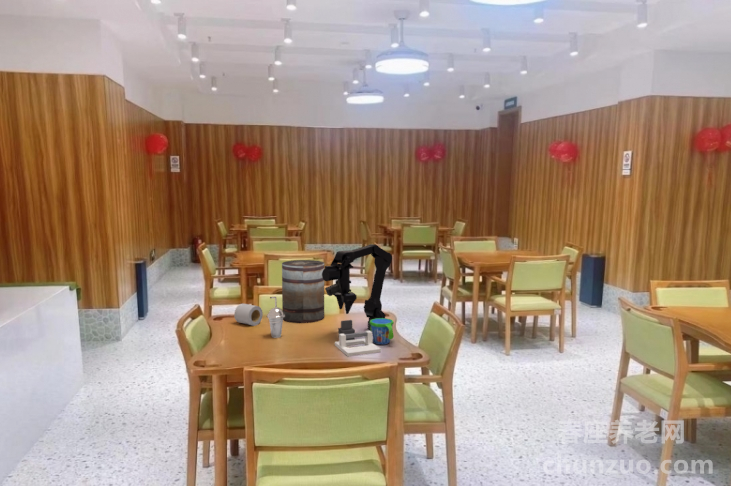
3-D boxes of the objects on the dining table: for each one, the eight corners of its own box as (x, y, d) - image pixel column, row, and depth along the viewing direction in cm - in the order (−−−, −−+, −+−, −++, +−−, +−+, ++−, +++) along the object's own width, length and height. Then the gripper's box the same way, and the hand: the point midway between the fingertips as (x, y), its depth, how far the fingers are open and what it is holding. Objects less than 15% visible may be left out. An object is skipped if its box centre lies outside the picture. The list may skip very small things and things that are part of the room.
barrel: (323, 312, 280) (323, 259, 277) (325, 322, 258) (325, 266, 255) (283, 313, 278) (282, 260, 274) (281, 323, 255) (280, 266, 252)
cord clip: (350, 336, 235) (350, 318, 234) (354, 339, 230) (355, 321, 229) (338, 337, 233) (338, 319, 232) (342, 341, 227) (342, 322, 226)
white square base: (365, 341, 227) (365, 327, 226) (380, 352, 212) (380, 337, 211) (334, 345, 221) (334, 330, 220) (347, 356, 206) (348, 341, 205)
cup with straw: (289, 336, 234) (288, 294, 231) (273, 340, 227) (272, 297, 225) (278, 332, 239) (277, 292, 237) (262, 336, 233) (261, 294, 231)
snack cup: (363, 339, 230) (363, 317, 229) (383, 336, 235) (383, 315, 234) (379, 349, 216) (379, 326, 215) (400, 345, 221) (400, 323, 220)
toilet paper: (262, 323, 256) (262, 304, 255) (248, 327, 248) (248, 308, 247) (248, 320, 262) (248, 301, 261) (234, 324, 253) (234, 305, 252)
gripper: (321, 276, 234) (321, 308, 236) (333, 283, 217) (333, 318, 219) (343, 274, 238) (343, 306, 240) (356, 281, 221) (357, 315, 223)
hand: (343, 311), depth 230 cm, fingers open, 9 cm apart
